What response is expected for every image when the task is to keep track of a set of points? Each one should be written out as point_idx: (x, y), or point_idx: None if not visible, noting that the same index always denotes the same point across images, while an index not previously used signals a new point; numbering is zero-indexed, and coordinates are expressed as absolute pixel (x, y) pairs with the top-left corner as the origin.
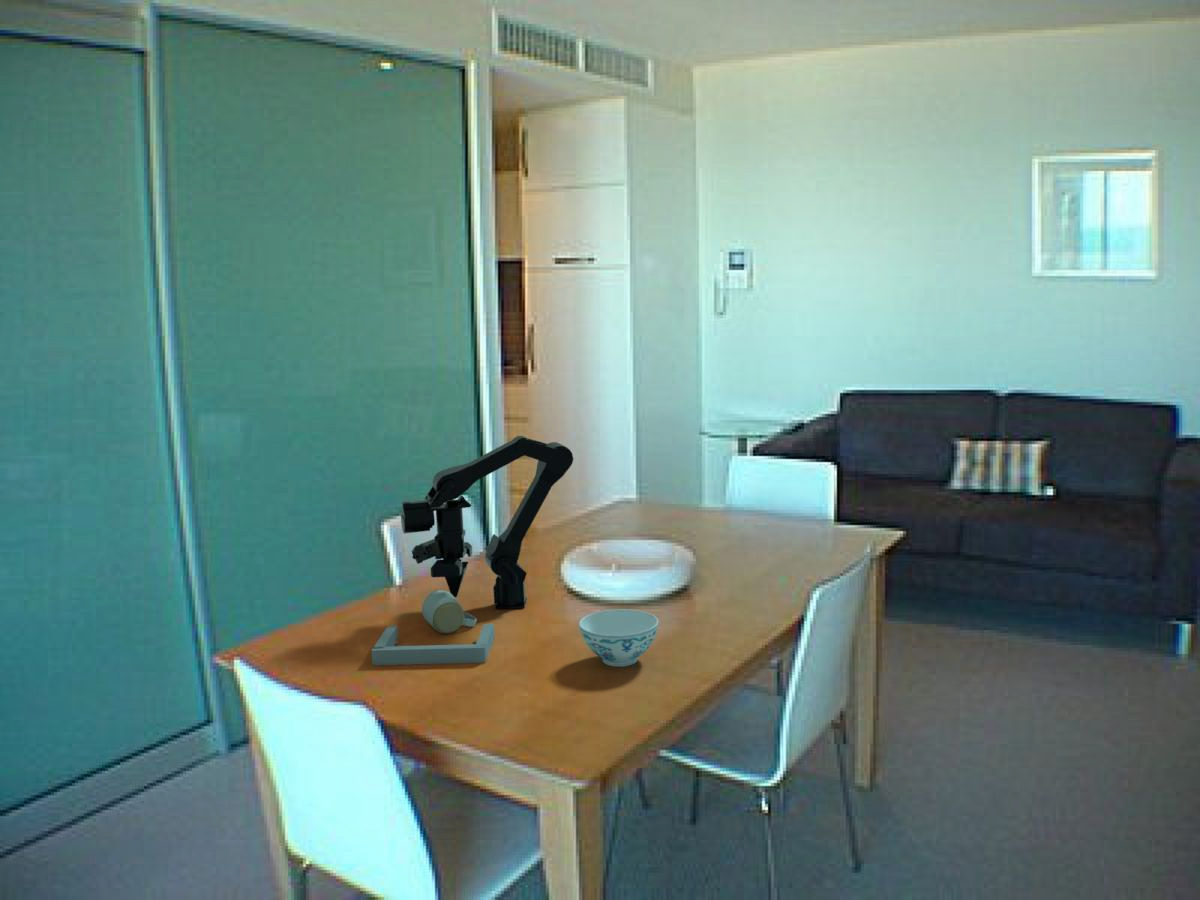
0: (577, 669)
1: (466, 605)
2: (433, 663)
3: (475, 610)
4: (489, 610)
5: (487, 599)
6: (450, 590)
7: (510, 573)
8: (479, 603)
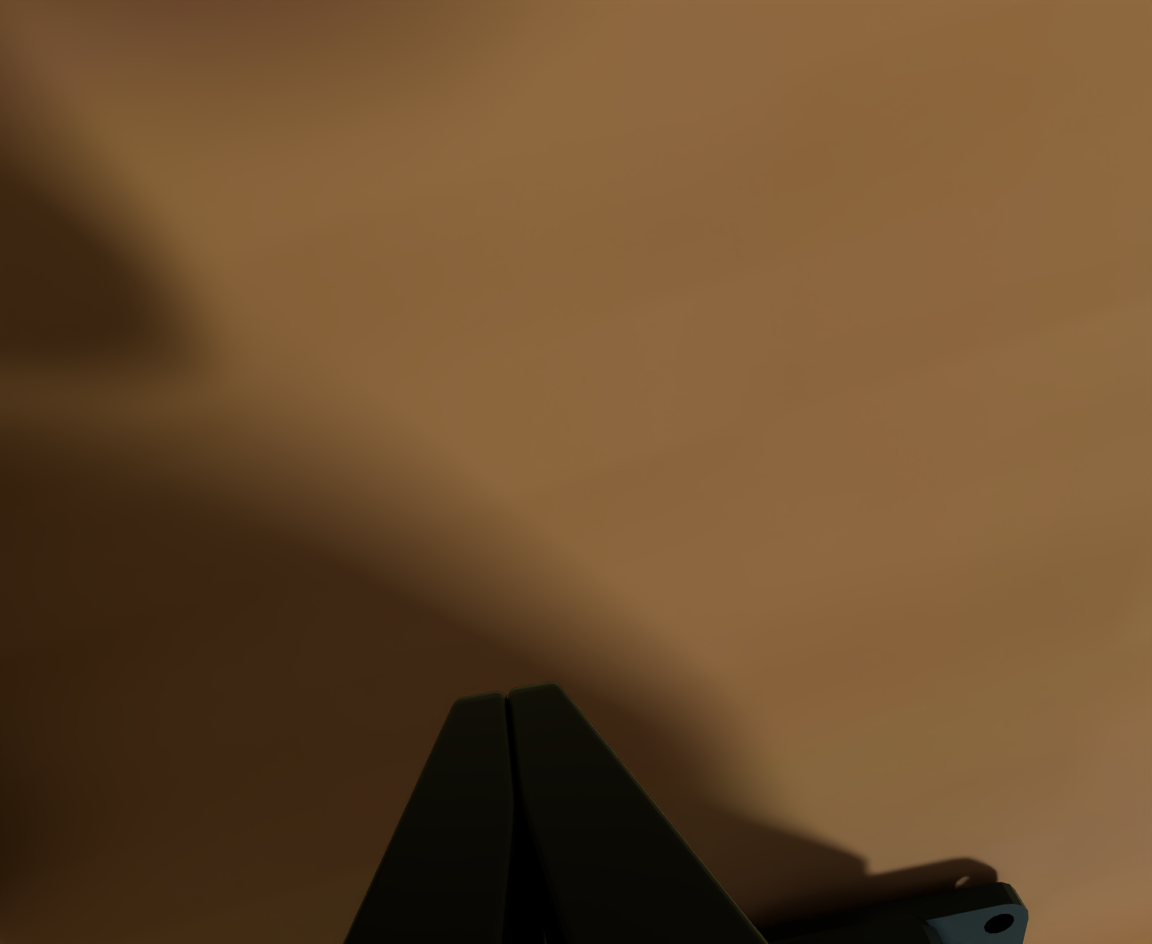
0: None
1: (870, 550)
2: None
3: None
4: None
5: (1111, 730)
6: (384, 881)
7: None
8: (942, 694)
